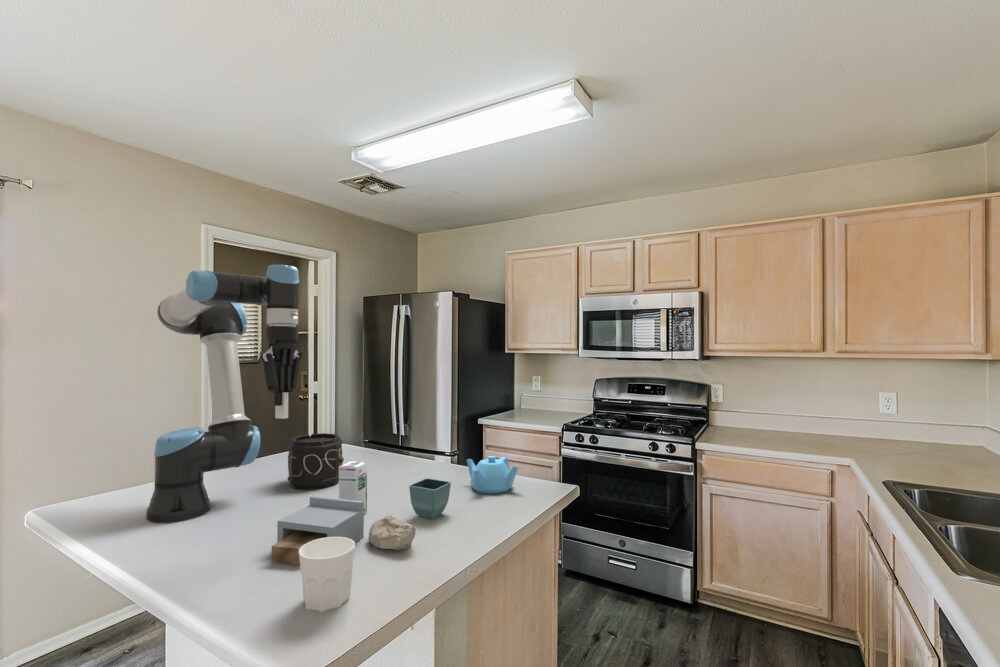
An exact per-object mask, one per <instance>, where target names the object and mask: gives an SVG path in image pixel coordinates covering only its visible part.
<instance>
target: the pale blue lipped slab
mask: <svg viewBox="0 0 1000 667" xmlns="http://www.w3.org/2000/svg"><path fill="white" fill-rule="evenodd" d="M364 517H365V514H364V501H357V500H348V499H339V497H338V498H337V497H336V498H335V497H327V496H326V497H325V496H318V495H311V496H309V505H307V506H305V507H303V508H301V509H299V510H297V511H295V512H292V513H290V514H288V515H287V516H285V517H283V518H281V519H278V520H277V526H276V527H277V530H276V534H277V535H276V536H277V537H276V538H277V539H276V543H278V542H279V541H281V540H282V539H284V538H285V537H287V536H288V535H290V534H292V533H293V532H295V531H296V530H303V531H310V532H318V533H326V534H327V537H346V538H349V539H351V540H353V541H354V543H355V544H357V543H358V542H359V541H361V540H362V539H364V534H365V533H364V532H365V531H364V529H365V528H364V527H365V526H364V519H365V518H364Z"/></svg>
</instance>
